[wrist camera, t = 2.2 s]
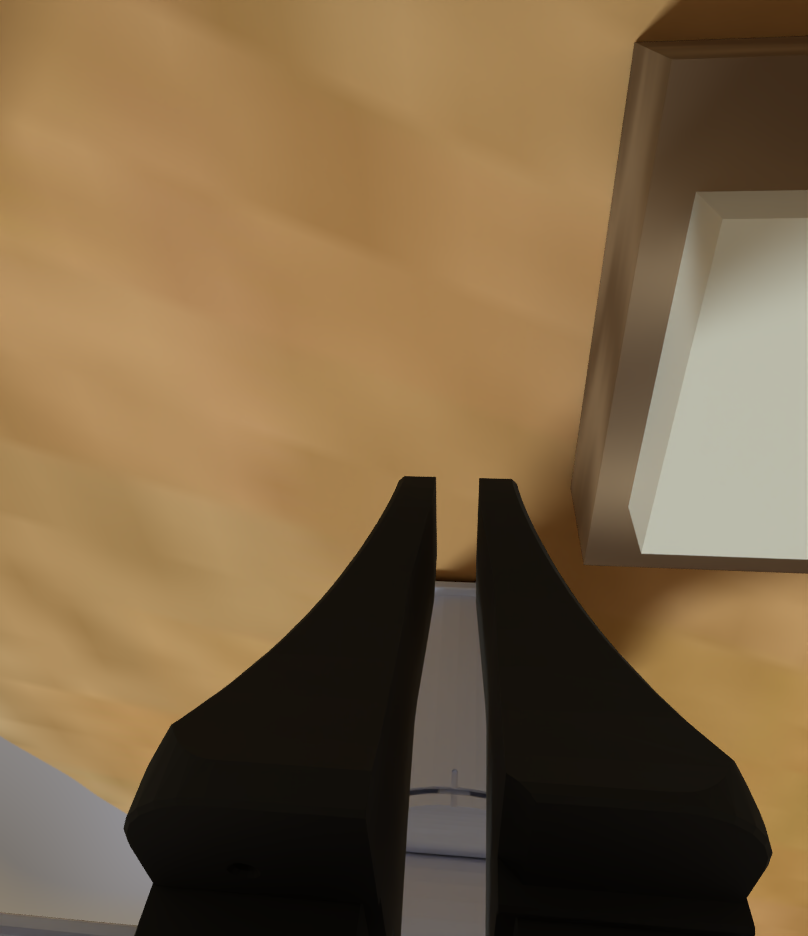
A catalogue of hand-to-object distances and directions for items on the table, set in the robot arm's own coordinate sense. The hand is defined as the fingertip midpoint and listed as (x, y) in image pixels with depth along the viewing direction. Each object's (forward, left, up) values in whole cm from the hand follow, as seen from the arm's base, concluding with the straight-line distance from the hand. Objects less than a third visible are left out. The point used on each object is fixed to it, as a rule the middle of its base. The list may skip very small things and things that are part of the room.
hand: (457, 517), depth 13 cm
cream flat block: (0, -8, -6) cm, 10 cm away
